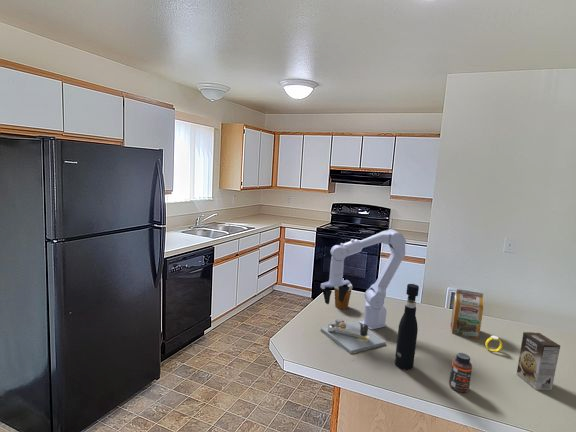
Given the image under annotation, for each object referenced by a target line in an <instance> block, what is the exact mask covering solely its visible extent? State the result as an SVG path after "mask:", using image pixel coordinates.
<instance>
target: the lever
mask: <svg viewBox="0 0 576 432" xmlns="http://www.w3.org/2000/svg"><path fill="white" fill-rule="evenodd" d="M360 325H361V327H360V332H358V331H353V330H349V329H345V328H340V327H337V325H335V324H333V323H330V324H328V325H327V327H328V329H327V330H328V331H329V332H336V333H341V334H345V335H349V336H354V337H358V338H362V339H366V336H367V334H368V331H369V328H368V325H366V324H361V323H360Z"/></svg>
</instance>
